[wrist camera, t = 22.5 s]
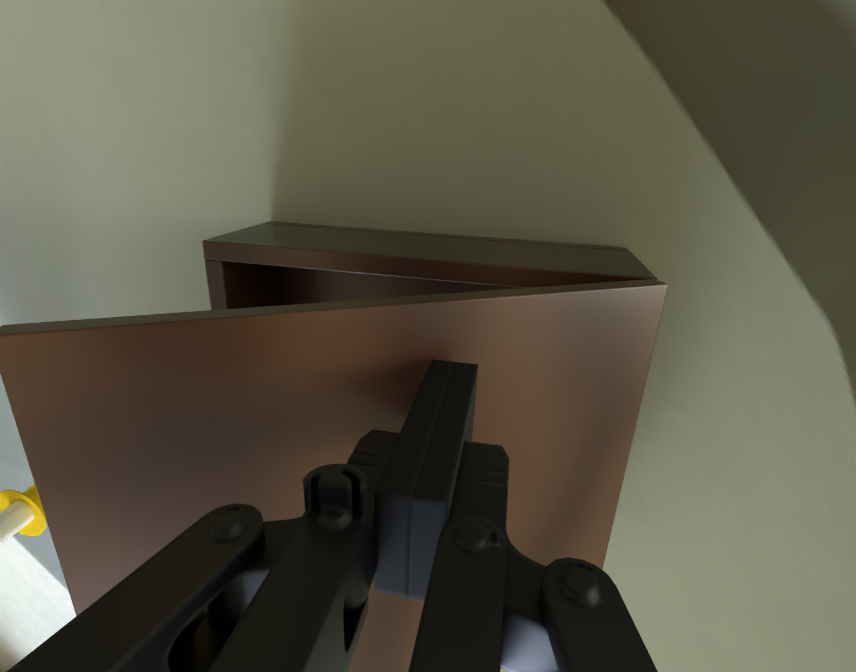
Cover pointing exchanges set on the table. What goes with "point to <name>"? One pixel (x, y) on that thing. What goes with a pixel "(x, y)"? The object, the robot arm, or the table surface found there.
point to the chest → (392, 265)
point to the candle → (21, 513)
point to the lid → (324, 418)
